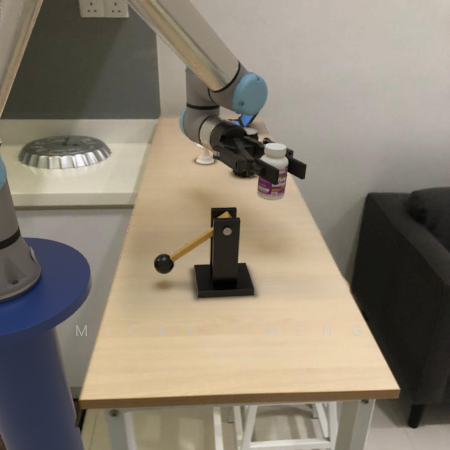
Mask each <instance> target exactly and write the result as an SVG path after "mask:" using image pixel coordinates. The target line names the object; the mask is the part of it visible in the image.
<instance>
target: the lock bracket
mask: <svg viewBox="0 0 450 450" xmlns="http://www.w3.org/2000/svg"><path fill="white" fill-rule="evenodd" d="M226 211H228V213H229V214H230V215H231V217H232V218H217V217H219V216H220V215H222V214H223V213H225V212H226ZM212 227H213V236H212V237H211V238H209V263H203V264H202V263H200V264H193V274H194V280H195V287H196V288H195V289H196V294H197V298H218V297H237V296H254V295H255V287H254V284H253V281H252V278H251V275H250V272H249V268H248V265H247V262H239V257H240V255H239V254H240V240H241V239H240V237H241V218H240V216H238V209H237V207H236V206H226V207H225V206H224V207H223V206H221V207H210V226H209V229H210V228H212Z"/></svg>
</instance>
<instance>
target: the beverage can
mask: <svg viewBox="0 0 450 450" xmlns="http://www.w3.org/2000/svg"><path fill="white" fill-rule="evenodd" d="M244 129H245V130H246V132H247V134H248V136H249V137H251V138H253V139H256V140H257V141H260V140H259V138H260V137H259V136H260V135H259V134H258V130H257V129H256V128H253V127H248V128H244ZM254 162H255V159H254ZM232 173H233V174H234V175H235V176H236V177H237V178H244V179H245V178H249V177H248V176H247V171H246V170H243V173H237V172H236V171H234V170H233V169H232ZM253 176H255V174H254V173H253ZM253 176H252V177H253Z"/></svg>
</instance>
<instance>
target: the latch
mask: <svg viewBox="0 0 450 450" xmlns="http://www.w3.org/2000/svg"><path fill="white" fill-rule="evenodd" d="M217 218H232V217H231V215H230V214H229V213H228V211H226V212H225V213H223V214H222V215H220V216H219V217H217ZM212 236H213V227H212V228H210V227H209V229H207V230H206V231H204V232H203V233H201V234H200V235H198V236H196V237H195V238H193V239H192V240H191V241H189V242H188V243H186V244H185V245H183V246H182V247H180V248H179V249H176V251H174V252H173V253H171V254H168V253H160V254H158V255H157V256H156V257H155V258H154V260H153V267H154V269H155V271H156V272H157V273H159V274H161V275H168V274H169V273H171V272H172V271H173V270H174V268H175V262H176V261H178V260H179V259H181V258H182V257H184V256H185V255H187V254H188V253H190V252H191V251H192V250H195V249H196V248H197V247H198V246H200V245H202V244H203V243H205V242H206V241H207V240H210V238H211V237H212Z"/></svg>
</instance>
